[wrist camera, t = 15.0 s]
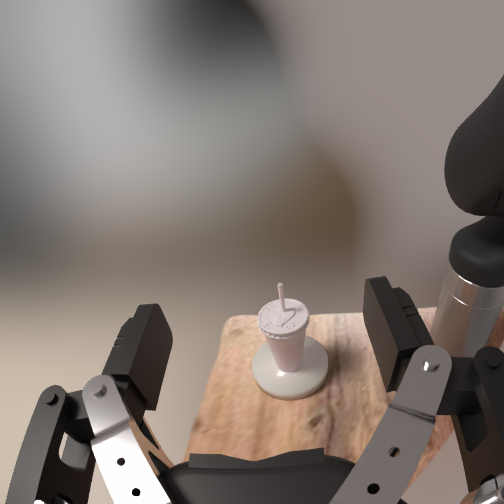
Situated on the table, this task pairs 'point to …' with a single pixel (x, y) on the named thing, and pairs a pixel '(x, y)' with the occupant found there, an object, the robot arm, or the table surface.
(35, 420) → the robot arm
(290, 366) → the smoothie
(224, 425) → the table surface
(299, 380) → the trivet
